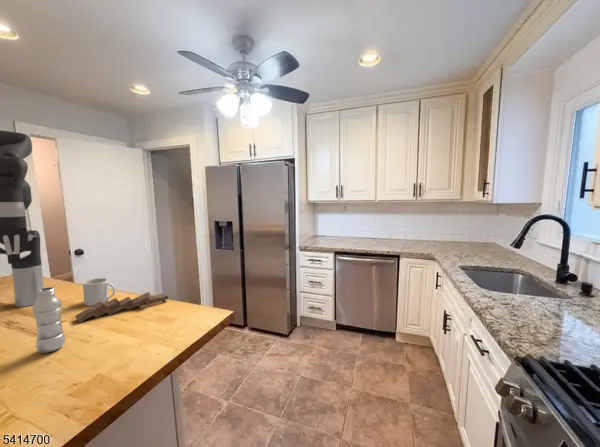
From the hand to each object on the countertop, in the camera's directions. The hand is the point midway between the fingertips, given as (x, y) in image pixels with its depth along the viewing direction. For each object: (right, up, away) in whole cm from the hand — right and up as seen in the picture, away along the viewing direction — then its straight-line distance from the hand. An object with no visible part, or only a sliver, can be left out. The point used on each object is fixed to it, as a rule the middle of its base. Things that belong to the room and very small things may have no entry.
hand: (14, 264), depth 89 cm
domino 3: (+19, -23, +18) cm, 34 cm away
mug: (+6, -22, +29) cm, 37 cm away
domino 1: (+13, -23, +10) cm, 28 cm away
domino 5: (+27, -23, +25) cm, 44 cm away
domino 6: (+30, -21, +26) cm, 45 cm away
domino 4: (+24, -22, +23) cm, 40 cm away
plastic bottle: (+20, -26, -8) cm, 34 cm away
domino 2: (+16, -23, +15) cm, 31 cm away
